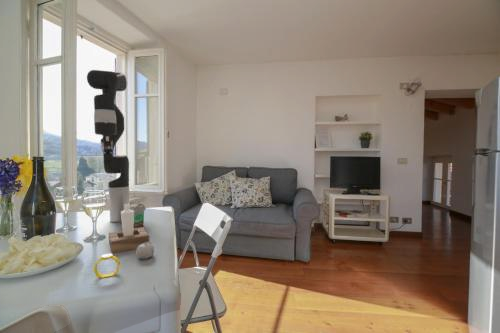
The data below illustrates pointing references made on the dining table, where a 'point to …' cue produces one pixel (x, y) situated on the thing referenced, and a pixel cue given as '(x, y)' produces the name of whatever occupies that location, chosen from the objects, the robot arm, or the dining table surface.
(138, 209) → the food container
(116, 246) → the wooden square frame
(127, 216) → the white faceted vase
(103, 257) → the watch
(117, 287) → the dining table surface
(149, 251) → the garlic
